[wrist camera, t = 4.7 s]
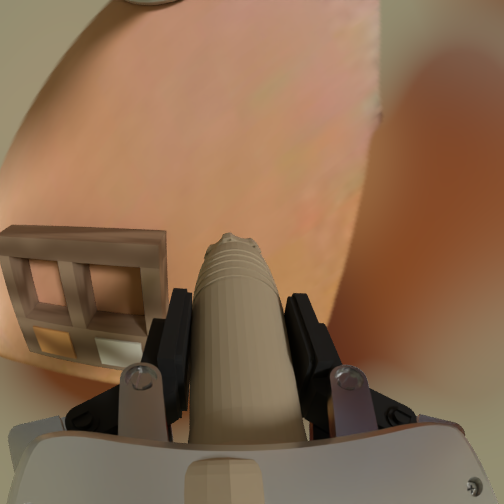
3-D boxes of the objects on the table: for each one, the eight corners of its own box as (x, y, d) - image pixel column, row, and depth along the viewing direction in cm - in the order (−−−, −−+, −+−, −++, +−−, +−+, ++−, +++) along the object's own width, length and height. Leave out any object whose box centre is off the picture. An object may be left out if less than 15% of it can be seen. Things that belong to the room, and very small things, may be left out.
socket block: (12, 224, 29) (-7, 237, 25) (166, 230, 31) (157, 246, 27) (40, 335, 36) (29, 352, 32) (172, 355, 38) (168, 377, 34)
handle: (237, 309, 20) (260, 549, 6) (167, 242, 17) (85, 516, 4) (296, 267, 18) (393, 512, 5) (229, 189, 16) (251, 505, 3)
